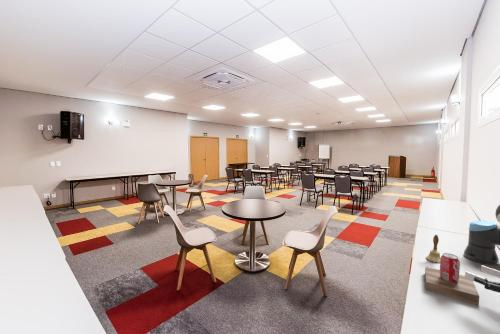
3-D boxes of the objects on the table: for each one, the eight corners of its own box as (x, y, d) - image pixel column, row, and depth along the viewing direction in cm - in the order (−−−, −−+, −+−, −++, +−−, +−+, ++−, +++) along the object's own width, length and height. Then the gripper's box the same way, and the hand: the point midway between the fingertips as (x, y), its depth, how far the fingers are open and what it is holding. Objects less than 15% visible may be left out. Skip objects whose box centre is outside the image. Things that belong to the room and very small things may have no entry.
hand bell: (443, 259, 138) (444, 234, 137) (443, 264, 131) (444, 238, 130) (425, 255, 143) (427, 231, 142) (425, 260, 137) (426, 235, 136)
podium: (425, 273, 122) (425, 266, 122) (470, 285, 111) (471, 277, 111) (426, 289, 108) (426, 281, 107) (478, 304, 97) (479, 296, 96)
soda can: (458, 279, 109) (460, 255, 108) (459, 285, 104) (460, 260, 103) (439, 274, 114) (440, 251, 113) (439, 279, 109) (440, 256, 108)
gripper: (535, 319, 76) (457, 285, 96) (562, 300, 86) (487, 273, 105) (536, 298, 76) (458, 268, 95) (564, 281, 85) (488, 258, 105)
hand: (473, 271), depth 100 cm, fingers open, 13 cm apart
